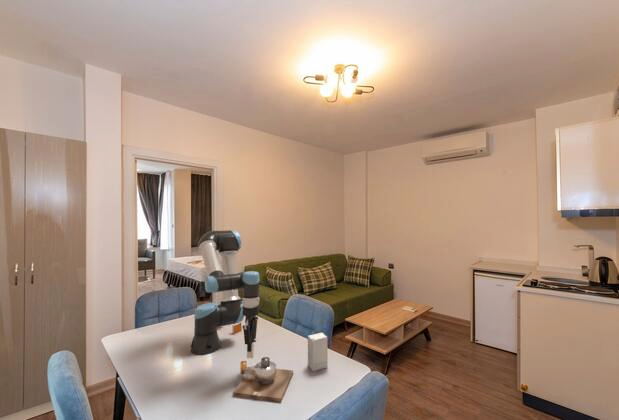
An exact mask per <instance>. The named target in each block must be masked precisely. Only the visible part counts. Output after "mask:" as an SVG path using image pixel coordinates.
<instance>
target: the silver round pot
mask: <svg viewBox="0 0 619 420" xmlns="http://www.w3.org/2000/svg"><path fill="white" fill-rule="evenodd" d="M260 359H261V360H260V361H259V362H257V363H256V364H255V365H254V366H255V367H252V366H248V365H247V363H248V362H247V361H246V360H242V361H240V364H239V365H240V369H239V370H240V371H239V374H240V375H242V376H245V375H246V374H251V375H255V379H256V380H257V381H260V382H267V381H271V380H273V379H274V378H275V376H276V369H277V365H276V363H275V362H274V361H272V360H271V359H270V357H268V356H264V357H262V358H260Z"/></svg>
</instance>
